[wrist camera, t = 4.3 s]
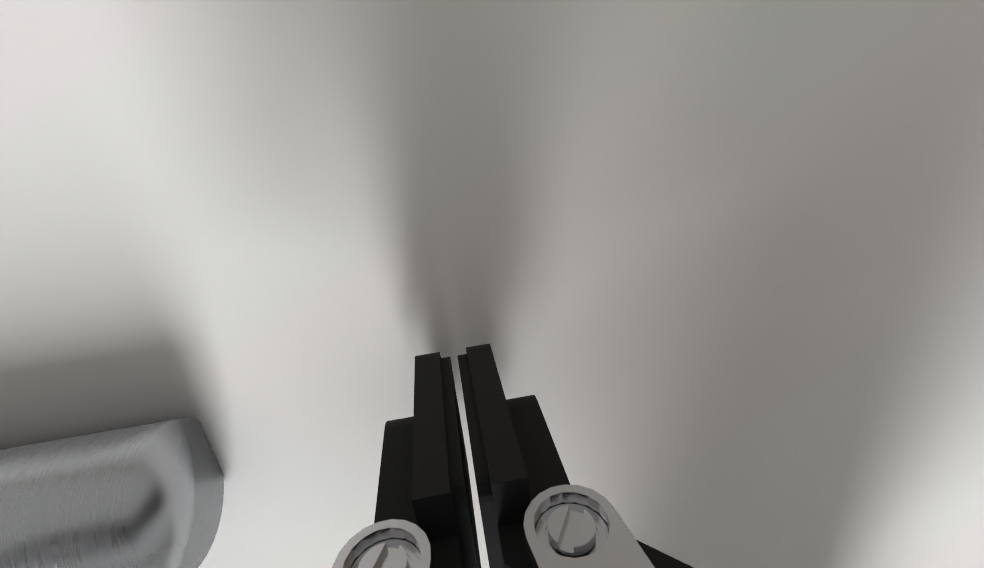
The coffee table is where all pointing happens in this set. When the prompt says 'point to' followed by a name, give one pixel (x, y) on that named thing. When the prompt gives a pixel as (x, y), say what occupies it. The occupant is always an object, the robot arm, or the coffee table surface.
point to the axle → (111, 499)
